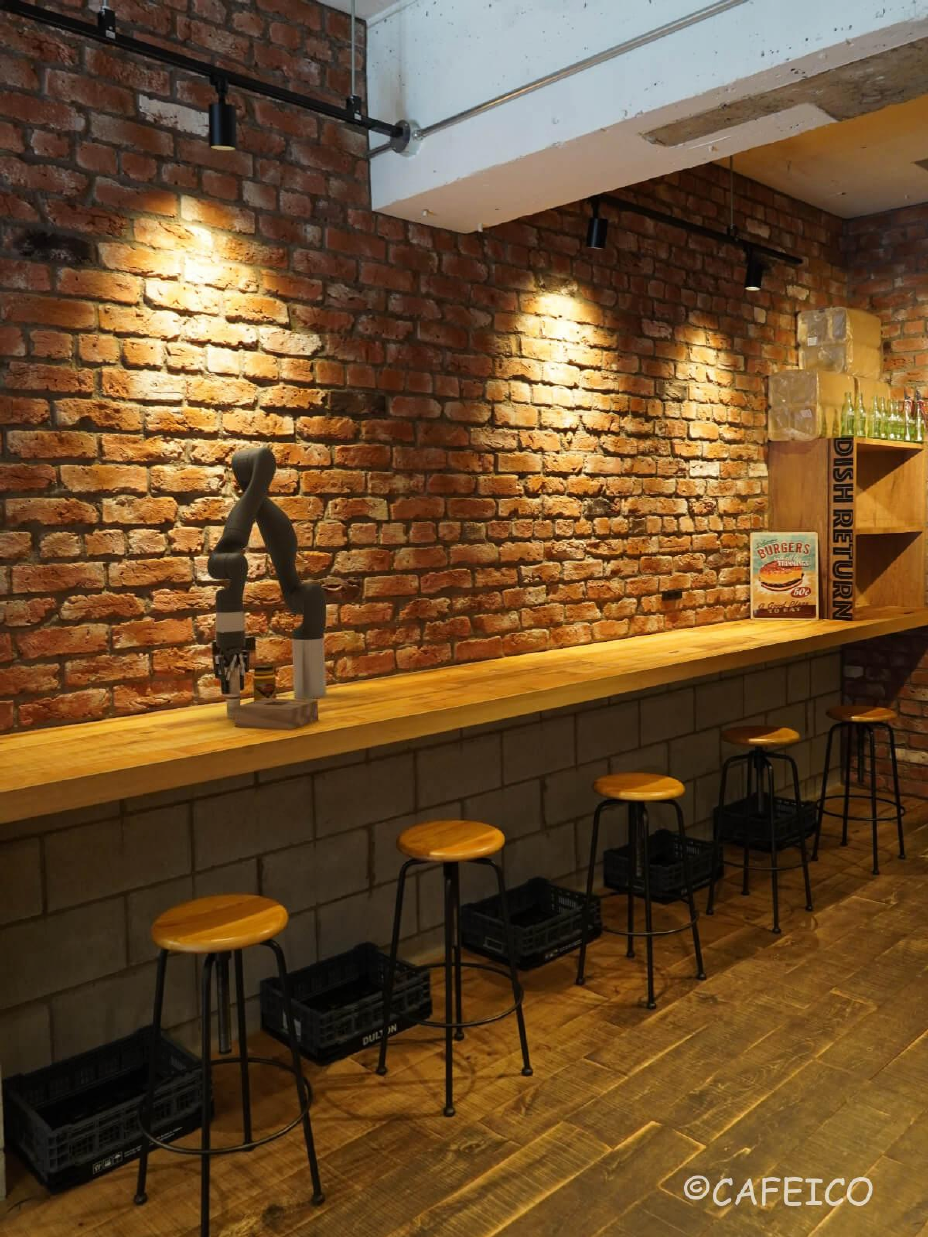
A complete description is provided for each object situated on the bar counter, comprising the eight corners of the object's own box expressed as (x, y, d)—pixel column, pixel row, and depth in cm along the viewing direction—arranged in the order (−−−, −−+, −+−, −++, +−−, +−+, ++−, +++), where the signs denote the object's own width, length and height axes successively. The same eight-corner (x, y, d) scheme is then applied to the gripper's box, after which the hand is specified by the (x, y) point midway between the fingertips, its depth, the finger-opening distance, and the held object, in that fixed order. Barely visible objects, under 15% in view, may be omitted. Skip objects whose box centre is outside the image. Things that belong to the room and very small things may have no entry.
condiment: (266, 712, 282) (264, 668, 281) (242, 710, 286) (240, 666, 285) (283, 707, 289) (282, 664, 288) (260, 705, 293) (258, 663, 292)
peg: (231, 715, 278) (229, 666, 277) (243, 716, 277) (242, 667, 276) (224, 717, 275) (222, 668, 274) (236, 718, 273) (234, 669, 272)
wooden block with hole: (264, 716, 275) (263, 698, 274) (318, 719, 269) (317, 700, 269) (235, 726, 262) (234, 707, 261) (291, 729, 256) (290, 709, 256)
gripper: (233, 626, 282) (235, 687, 283) (202, 631, 268) (205, 696, 270) (257, 626, 279) (259, 688, 281) (227, 632, 266) (230, 697, 267)
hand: (233, 692), depth 275 cm, fingers open, 6 cm apart
